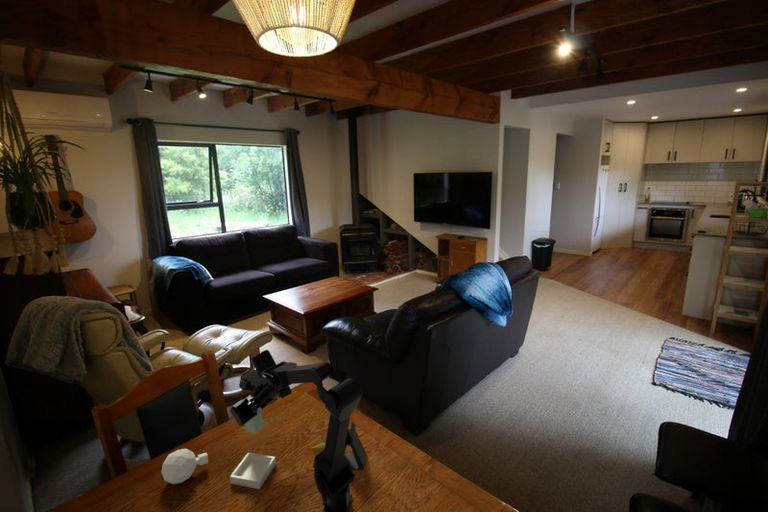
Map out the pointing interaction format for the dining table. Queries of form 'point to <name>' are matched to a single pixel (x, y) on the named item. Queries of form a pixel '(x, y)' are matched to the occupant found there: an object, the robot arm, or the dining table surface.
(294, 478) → the dining table surface
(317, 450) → the drill bit
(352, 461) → the phone stand
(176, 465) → the perfume bottle
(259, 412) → the block
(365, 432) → the dining table surface
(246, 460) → the tray
